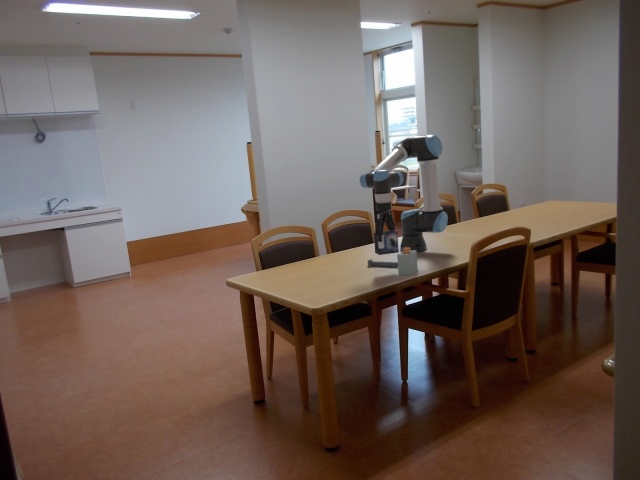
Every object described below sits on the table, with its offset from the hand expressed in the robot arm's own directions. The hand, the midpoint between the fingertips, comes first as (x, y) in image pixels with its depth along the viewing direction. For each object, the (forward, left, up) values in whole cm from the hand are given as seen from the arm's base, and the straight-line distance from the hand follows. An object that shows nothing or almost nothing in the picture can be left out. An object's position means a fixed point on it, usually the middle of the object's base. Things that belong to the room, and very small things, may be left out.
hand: (386, 245), depth 270 cm
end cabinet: (0, +11, -13) cm, 17 cm away
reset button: (0, +11, -6) cm, 12 cm away
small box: (0, 0, -4) cm, 4 cm away
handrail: (-10, -4, -13) cm, 17 cm away
